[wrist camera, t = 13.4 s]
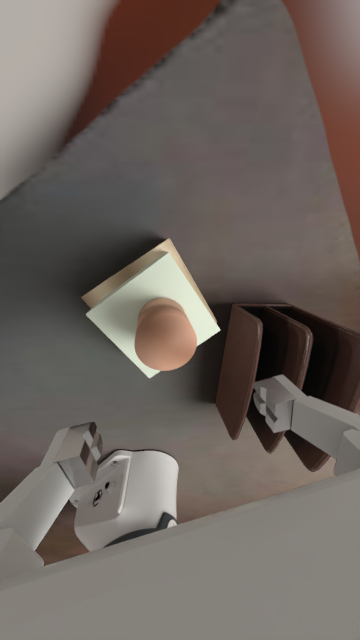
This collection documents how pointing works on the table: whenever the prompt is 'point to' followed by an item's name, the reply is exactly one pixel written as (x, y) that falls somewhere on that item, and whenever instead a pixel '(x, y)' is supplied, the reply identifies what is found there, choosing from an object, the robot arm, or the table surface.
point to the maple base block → (135, 267)
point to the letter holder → (286, 368)
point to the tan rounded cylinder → (164, 335)
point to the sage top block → (129, 298)
